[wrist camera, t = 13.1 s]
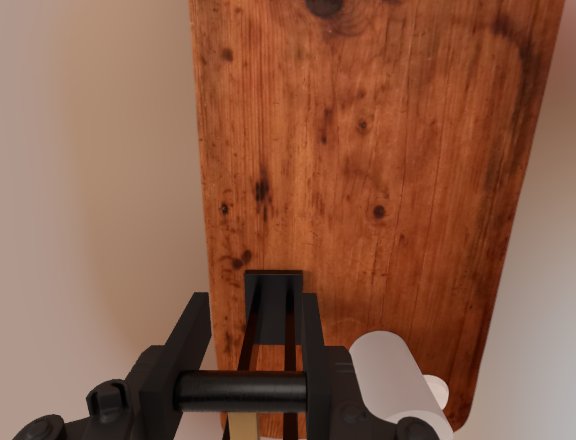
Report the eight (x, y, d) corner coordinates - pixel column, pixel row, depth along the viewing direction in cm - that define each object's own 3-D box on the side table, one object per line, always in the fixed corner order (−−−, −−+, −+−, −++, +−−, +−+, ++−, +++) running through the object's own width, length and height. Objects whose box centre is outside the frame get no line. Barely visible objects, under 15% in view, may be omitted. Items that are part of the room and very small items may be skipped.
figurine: (442, 416, 45) (495, 516, 33) (393, 413, 45) (429, 512, 33) (453, 376, 43) (514, 467, 31) (402, 373, 43) (444, 463, 31)
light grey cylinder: (345, 380, 43) (366, 472, 32) (350, 330, 41) (374, 409, 29) (404, 382, 43) (446, 474, 32) (412, 331, 41) (460, 411, 29)
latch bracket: (245, 269, 39) (167, 523, 14) (302, 270, 39) (325, 525, 14) (247, 338, 41) (186, 652, 17) (300, 339, 41) (317, 653, 17)
